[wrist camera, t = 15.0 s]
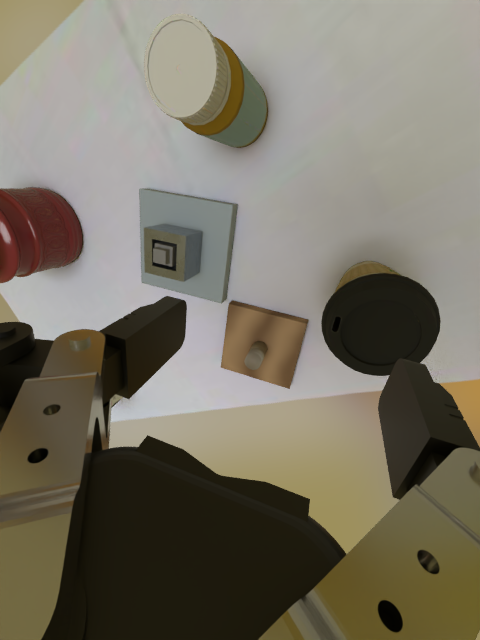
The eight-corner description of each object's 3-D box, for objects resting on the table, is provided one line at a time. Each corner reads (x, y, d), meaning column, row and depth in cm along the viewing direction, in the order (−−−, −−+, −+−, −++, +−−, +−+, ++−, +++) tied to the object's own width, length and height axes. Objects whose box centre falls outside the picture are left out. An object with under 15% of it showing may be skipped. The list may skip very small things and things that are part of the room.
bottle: (209, 87, 34) (128, 24, 21) (265, 69, 32) (213, -13, 19) (218, 153, 37) (152, 133, 24) (271, 141, 34) (229, 112, 21)
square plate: (237, 204, 39) (214, 207, 32) (226, 298, 45) (205, 318, 38) (147, 188, 42) (109, 188, 35) (148, 279, 48) (116, 294, 41)
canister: (47, 169, 46) (-101, 160, 30) (97, 240, 48) (-16, 264, 33) (13, 216, 52) (-124, 227, 36) (60, 277, 54) (-51, 311, 39)
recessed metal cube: (202, 231, 40) (185, 236, 35) (199, 272, 42) (183, 282, 38) (164, 223, 41) (143, 227, 37) (164, 264, 44) (144, 272, 39)
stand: (308, 319, 42) (303, 338, 37) (290, 383, 47) (284, 407, 42) (232, 300, 45) (217, 315, 39) (223, 362, 50) (210, 382, 45)
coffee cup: (392, 326, 39) (418, 395, 26) (319, 309, 41) (309, 365, 28) (421, 254, 34) (470, 293, 21) (337, 240, 37) (336, 268, 24)
